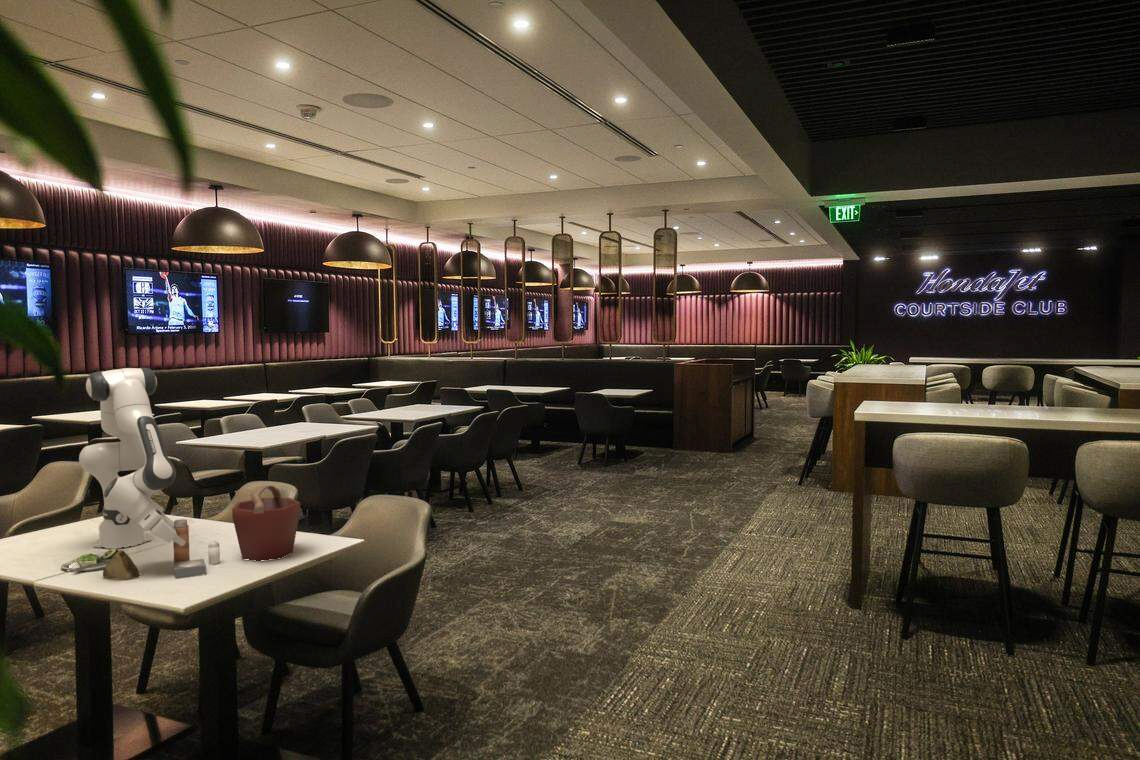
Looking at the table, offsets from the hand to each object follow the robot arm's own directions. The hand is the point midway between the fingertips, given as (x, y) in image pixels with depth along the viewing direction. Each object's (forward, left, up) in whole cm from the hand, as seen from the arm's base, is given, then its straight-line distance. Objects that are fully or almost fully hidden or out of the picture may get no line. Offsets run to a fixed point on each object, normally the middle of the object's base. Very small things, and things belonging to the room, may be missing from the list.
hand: (183, 540), depth 264 cm
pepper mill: (0, -1, -9) cm, 9 cm away
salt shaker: (+1, +9, -9) cm, 13 cm away
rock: (+3, -19, -9) cm, 21 cm away
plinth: (+9, +1, -9) cm, 13 cm away
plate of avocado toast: (-18, -27, -10) cm, 33 cm away
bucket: (-1, +26, -9) cm, 28 cm away
